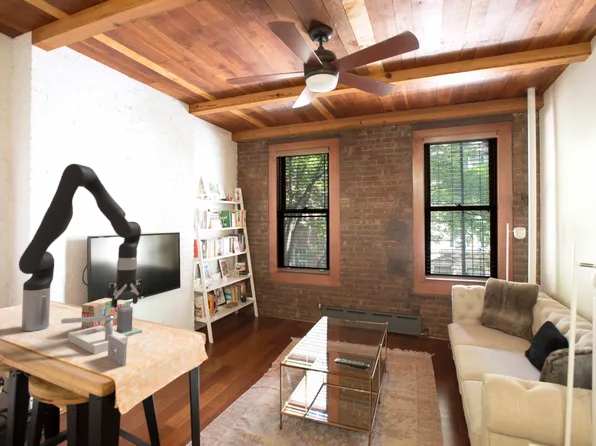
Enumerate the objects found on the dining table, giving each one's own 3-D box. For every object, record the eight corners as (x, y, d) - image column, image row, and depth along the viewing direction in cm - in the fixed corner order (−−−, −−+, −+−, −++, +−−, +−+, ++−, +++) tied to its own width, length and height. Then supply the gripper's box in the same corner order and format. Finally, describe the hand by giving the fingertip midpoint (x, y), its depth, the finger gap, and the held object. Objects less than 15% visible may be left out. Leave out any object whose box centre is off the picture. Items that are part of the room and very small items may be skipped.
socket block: (68, 340, 127) (69, 314, 127) (100, 332, 137) (100, 308, 137) (94, 354, 116) (95, 325, 116) (127, 344, 126) (128, 318, 126)
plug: (116, 331, 137) (117, 307, 137) (126, 328, 141) (127, 305, 141) (122, 333, 135) (123, 309, 135) (131, 330, 139) (132, 307, 139)
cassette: (127, 365, 109) (128, 342, 109) (121, 366, 107) (122, 344, 107) (111, 355, 116) (112, 333, 116) (106, 356, 114) (106, 335, 114)
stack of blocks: (118, 318, 157) (119, 293, 157) (129, 319, 156) (130, 294, 156) (80, 332, 136) (81, 304, 136) (93, 334, 135) (94, 305, 135)
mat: (106, 333, 136) (106, 331, 136) (129, 327, 145) (129, 325, 145) (118, 338, 131) (118, 336, 131) (142, 332, 139) (142, 330, 139)
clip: (113, 318, 124) (113, 315, 124) (112, 320, 121) (112, 317, 121) (63, 321, 118) (63, 318, 118) (60, 323, 115) (61, 320, 115)
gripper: (137, 265, 146) (135, 300, 146) (105, 268, 134) (103, 306, 134) (147, 267, 142) (145, 303, 142) (114, 270, 130) (112, 310, 130)
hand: (124, 305), depth 138 cm, fingers open, 8 cm apart
